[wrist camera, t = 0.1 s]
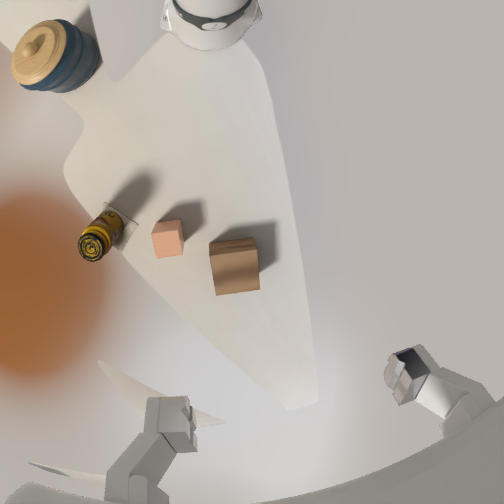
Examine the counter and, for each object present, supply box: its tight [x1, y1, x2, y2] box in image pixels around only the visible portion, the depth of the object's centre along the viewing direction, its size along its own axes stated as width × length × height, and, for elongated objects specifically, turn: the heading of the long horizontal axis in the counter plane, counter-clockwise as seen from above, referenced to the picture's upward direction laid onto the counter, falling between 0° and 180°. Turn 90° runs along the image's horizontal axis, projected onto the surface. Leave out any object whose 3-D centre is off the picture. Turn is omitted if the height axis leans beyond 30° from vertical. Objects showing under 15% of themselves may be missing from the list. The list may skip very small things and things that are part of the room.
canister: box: [11, 19, 99, 93], centre depth 30 cm, size 13×13×18 cm
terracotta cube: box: [151, 219, 184, 258], centre depth 54 cm, size 5×5×6 cm
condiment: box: [78, 203, 138, 262], centre depth 49 cm, size 7×8×12 cm
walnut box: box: [209, 238, 260, 296], centre depth 59 cm, size 9×9×6 cm
